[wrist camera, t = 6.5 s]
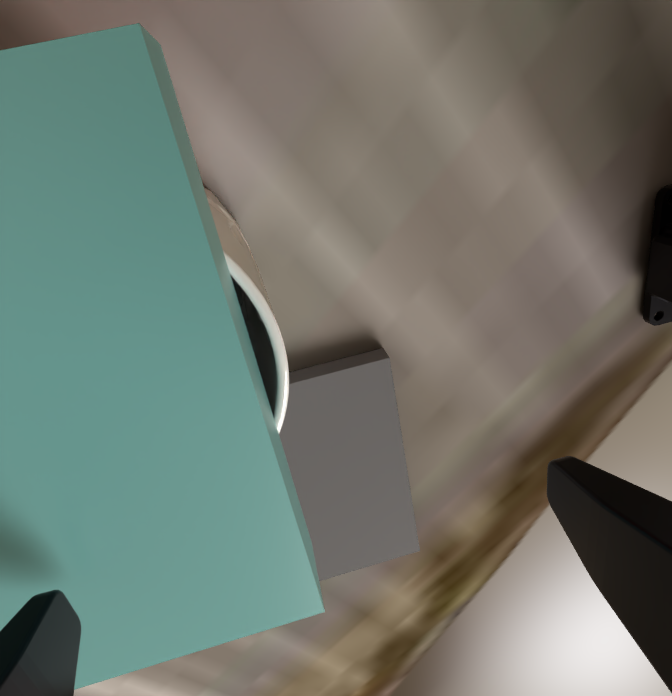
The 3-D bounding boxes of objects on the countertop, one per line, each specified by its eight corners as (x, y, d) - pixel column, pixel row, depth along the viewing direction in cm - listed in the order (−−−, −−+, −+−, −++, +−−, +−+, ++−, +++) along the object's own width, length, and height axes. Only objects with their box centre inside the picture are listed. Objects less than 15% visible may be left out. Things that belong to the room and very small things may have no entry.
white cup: (185, 388, 21) (152, 588, 12) (-3, 278, 18) (-235, 441, 9) (303, 246, 19) (364, 356, 11) (120, 96, 16) (-15, 72, 7)
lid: (160, 44, 8) (138, 23, 6) (311, 541, 13) (325, 611, 11) (-295, 135, 7) (-473, 143, 5) (52, 618, 12) (22, 706, 10)
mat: (383, 348, 22) (389, 357, 21) (413, 536, 27) (419, 550, 27) (159, 406, 21) (156, 419, 20) (236, 589, 27) (237, 605, 26)
